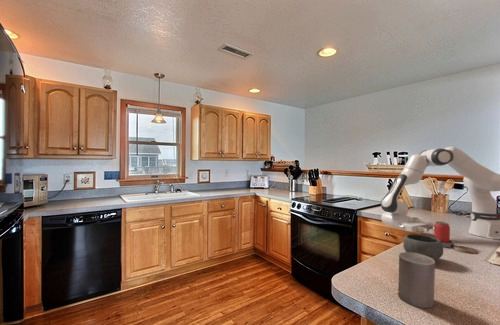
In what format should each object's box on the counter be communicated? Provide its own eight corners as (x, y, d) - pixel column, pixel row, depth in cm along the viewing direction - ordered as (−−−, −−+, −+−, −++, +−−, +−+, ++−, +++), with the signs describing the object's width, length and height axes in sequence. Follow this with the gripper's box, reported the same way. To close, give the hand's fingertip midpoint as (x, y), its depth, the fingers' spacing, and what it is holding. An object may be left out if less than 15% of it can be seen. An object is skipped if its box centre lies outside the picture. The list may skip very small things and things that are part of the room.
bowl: (432, 269, 101) (432, 245, 101) (396, 256, 114) (396, 235, 114) (449, 262, 107) (450, 240, 107) (414, 251, 121) (414, 231, 121)
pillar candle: (391, 291, 83) (392, 248, 82) (418, 291, 83) (419, 247, 83) (412, 309, 73) (413, 260, 73) (442, 308, 73) (443, 259, 73)
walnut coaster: (470, 248, 126) (470, 246, 126) (481, 254, 118) (481, 252, 118) (449, 246, 129) (449, 244, 129) (459, 252, 120) (459, 250, 120)
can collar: (447, 242, 135) (447, 238, 135) (457, 248, 125) (457, 243, 125) (427, 241, 137) (427, 236, 137) (435, 246, 128) (435, 242, 128)
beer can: (446, 243, 133) (446, 222, 133) (451, 247, 127) (452, 224, 127) (432, 242, 136) (432, 220, 136) (437, 245, 129) (437, 223, 129)
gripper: (396, 220, 144) (421, 225, 131) (417, 217, 152) (442, 222, 140) (396, 230, 144) (421, 237, 131) (417, 227, 152) (442, 233, 140)
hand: (432, 229), depth 136 cm, fingers open, 8 cm apart
